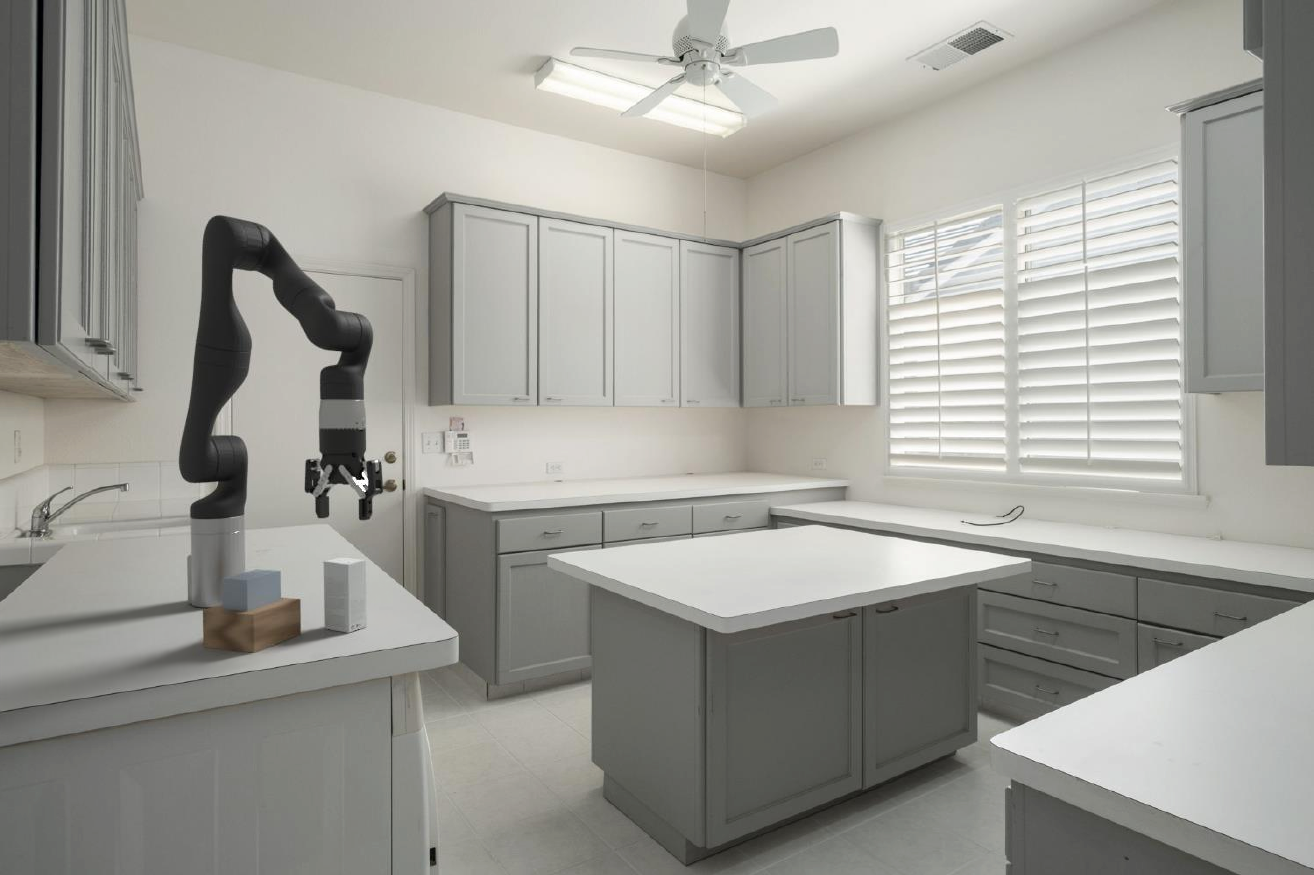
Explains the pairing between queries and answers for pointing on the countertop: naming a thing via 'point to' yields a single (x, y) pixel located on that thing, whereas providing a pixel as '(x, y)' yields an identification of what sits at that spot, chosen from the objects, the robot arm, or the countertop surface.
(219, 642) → the walnut block
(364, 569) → the skincare box
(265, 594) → the slate brick
